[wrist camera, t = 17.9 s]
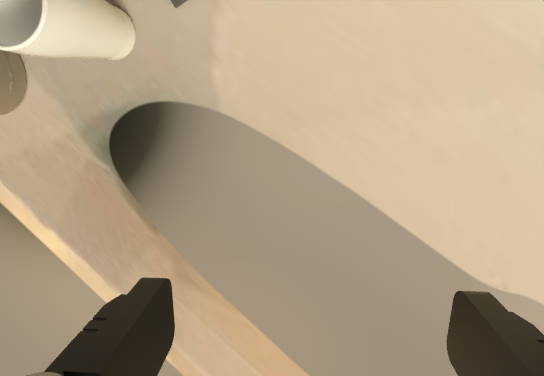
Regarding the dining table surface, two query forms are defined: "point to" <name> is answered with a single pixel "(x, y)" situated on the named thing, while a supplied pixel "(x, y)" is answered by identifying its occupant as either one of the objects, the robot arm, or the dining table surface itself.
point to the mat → (178, 2)
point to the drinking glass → (65, 29)
